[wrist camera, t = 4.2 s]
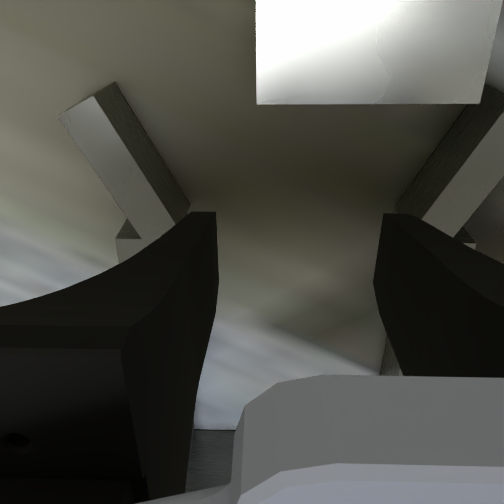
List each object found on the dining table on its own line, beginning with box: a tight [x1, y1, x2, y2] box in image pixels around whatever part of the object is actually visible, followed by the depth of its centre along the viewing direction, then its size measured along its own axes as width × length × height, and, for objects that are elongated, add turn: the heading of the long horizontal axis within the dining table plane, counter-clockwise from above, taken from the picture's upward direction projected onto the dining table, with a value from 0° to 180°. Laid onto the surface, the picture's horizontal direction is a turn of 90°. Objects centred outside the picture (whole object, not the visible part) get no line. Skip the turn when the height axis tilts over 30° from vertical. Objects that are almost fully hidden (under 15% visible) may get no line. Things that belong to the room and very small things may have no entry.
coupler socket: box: [57, 82, 504, 493], centre depth 17 cm, size 13×17×4 cm
